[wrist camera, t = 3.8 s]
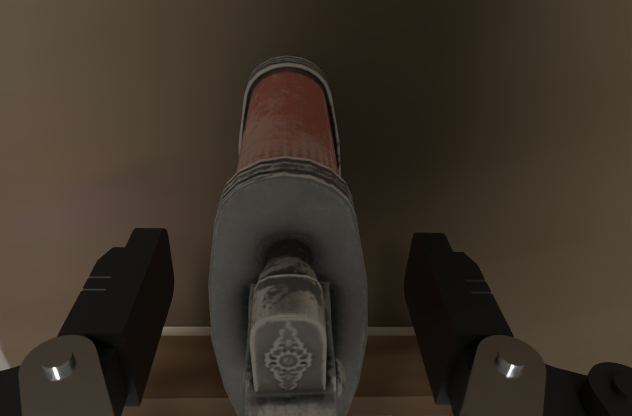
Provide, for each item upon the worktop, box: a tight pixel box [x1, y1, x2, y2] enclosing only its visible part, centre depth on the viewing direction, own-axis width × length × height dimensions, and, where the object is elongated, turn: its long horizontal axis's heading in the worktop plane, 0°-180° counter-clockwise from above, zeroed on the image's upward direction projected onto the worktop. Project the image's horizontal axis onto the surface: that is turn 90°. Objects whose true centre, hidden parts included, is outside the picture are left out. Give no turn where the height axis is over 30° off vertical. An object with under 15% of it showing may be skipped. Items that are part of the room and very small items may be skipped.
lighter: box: [208, 55, 368, 416], centre depth 12 cm, size 8×3×10 cm, turn 0°
